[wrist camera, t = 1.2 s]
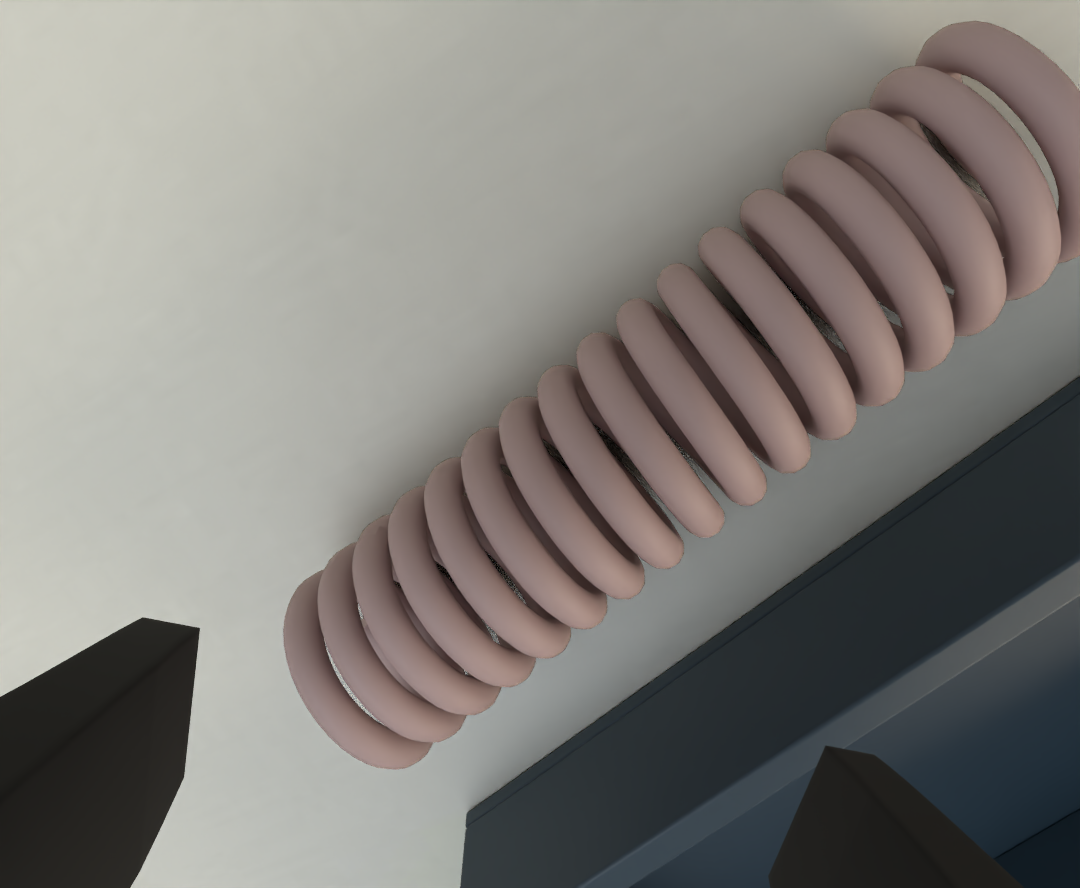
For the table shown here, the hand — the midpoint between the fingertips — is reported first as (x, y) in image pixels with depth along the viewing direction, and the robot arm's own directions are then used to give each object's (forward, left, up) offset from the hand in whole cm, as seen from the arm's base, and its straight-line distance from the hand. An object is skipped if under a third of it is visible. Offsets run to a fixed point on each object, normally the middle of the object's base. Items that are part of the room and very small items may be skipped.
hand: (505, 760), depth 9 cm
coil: (-1, -3, -10) cm, 10 cm away
